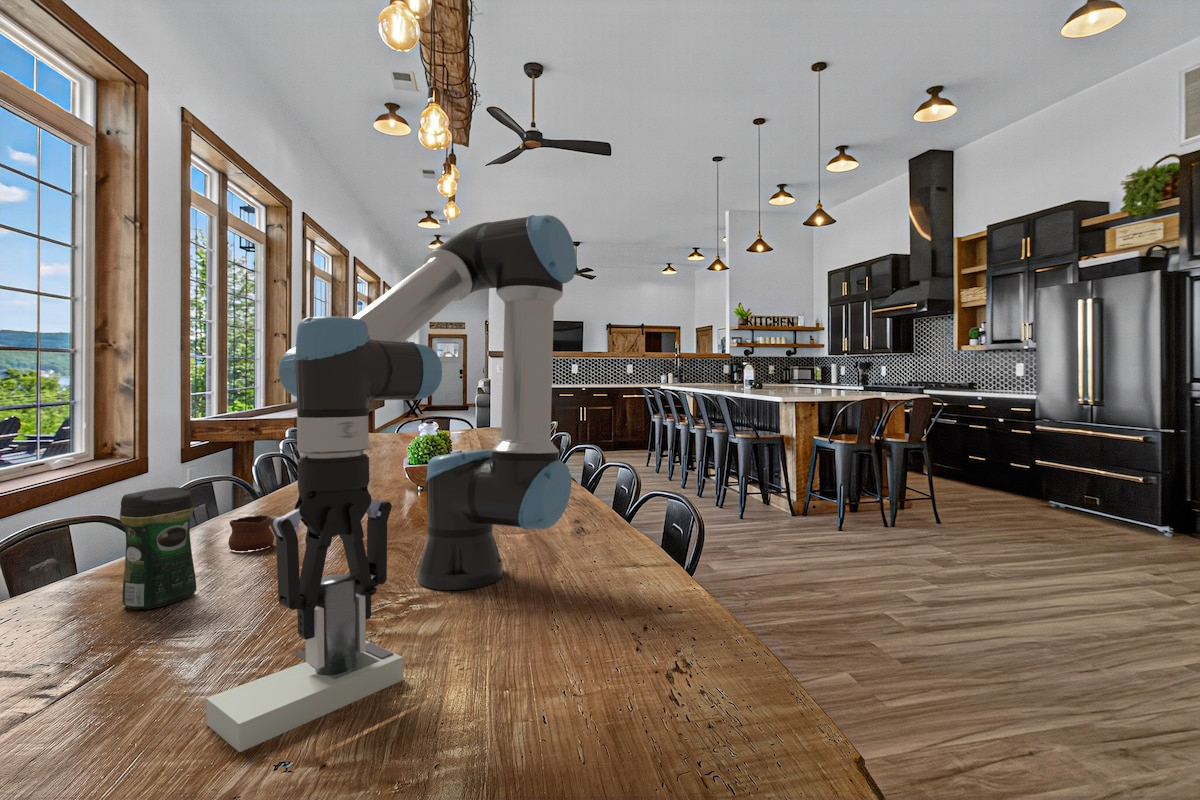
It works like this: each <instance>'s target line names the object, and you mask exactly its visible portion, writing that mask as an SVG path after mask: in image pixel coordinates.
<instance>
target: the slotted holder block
mask: <svg viewBox="0 0 1200 800" xmlns="http://www.w3.org/2000/svg"><path fill="white" fill-rule="evenodd" d="M402 681H404V657H403V656H402V655H399V654H397V653H395V652H393V651H391V650H388V649H387V648H383V647H381V646H379V645H377V644H375V643H373V642H371V641H368V640H366V651H365V652H362V653H358V652H357V664H356V666H355V667H354V668H353V669H351V670H349V671H347V672H345V673H341V674H337V675H320V674H317V673H316V672H315V667H313V666H312V665H310V664H308V663H306V661H304V662H300V663H299V664H295V665H293V666H290V667H288V668H285V669H282V670H279V671H277V672H274V673H271V674H268V675H265V676H263V677H260V678H258V679H257V678H256V679H254V680H252V681H248V682H246V683H243V684H241V685H238V686H235V687H232V688H230V689H226V690H224V691H222V692H219V693H216V694H213V695H211V696H207V697H205V713H206V714H205V716H206V717H205V718H206V719H205V720H206V723H205V724H206V725H207V727H209V728H210V729H212V731H213V732H215V733H216V734H217V735H218V736H219V737H221V738H222V739H223V740H224V741H226V743H227V744H229V745H230V746H231V747H232V748H233V749H235V751H237V752H238V753H242V752H244V751H246V750H248V749H250V748H252V747H253V748H254V747H255V746H257V745H259V744H262V743H263V742H266V741H268V740H271V739H274V738H275V737H278V736H280V735H282V734H284V733H286V732H289V731H291V730H293V729H296V728H298V727H300V726H302V725H304V724H307V723H309V722H311V721H314V720H316V719H318V718H320V717H323V716H325V715H328V714H329V713H332V712H335V711H336V710H339V709H341V708H343V707H346V706H348V705H350V704H352V703H355V702H357V701H359V700H361V699H364V698H365V697H366V698H367V697H368V696H370V695H372V694H375V693H377V692H379V691H381V690H384V689H386V688H388V687H390V686H393V685H395V684H397V683H399V682H402Z"/></svg>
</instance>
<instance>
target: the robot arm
mask: <svg viewBox="0 0 1200 800" xmlns="http://www.w3.org/2000/svg"><path fill="white" fill-rule="evenodd" d="M577 264H578V263H577V254H576V248H575V244H574V242H573V239H572V236H571V234H570V232H569V230H568V228H567V227H566V225H565V224H564V223H563V221H562V220H560V219H559V218H558V217H556V216H554V215H550V214H546V215H534V214H532V215H531V214H530V215H529V216H526V217H518V218H511V219H503V220H498V221H496V220H495V221H492V222H491V221H490V222H488V221H487V222H481V223H479V224H476V225H472V226H470V227H469V228H468V227H467V229H464V230H463V231H461V232H459V233H458V234H455V235H454V236H452V237H451V238H449V239H448V240H446V241H445V242H443V243H442V244H440V245H438V246H437V247H436V248H434V249H433V250H431V252H429V253H428V254H427V255H426V256H425V258H424V260H423V264H422V266H420V267H419V268H417V269H416V270H415V271H413V272H412V273H411V274H410V275H407V276H406V278H404V279H403V280H401V281H399V282H398V283H397V284H396V285H394V286H393V287H392V288H390V289H389V290H388V291H386V292H385V293H383V294H382V295H381V296H380V297H378V298H376V299H375V300H374V301H373V302H371V303H370V304H368V305H367V306H366V307H364V308H363V309H362V310H360V311H359V312H358V313H356V314H355V315H354V316H352V317H347V316H346V317H345V316H331V315H330V316H328V315H327V316H326V315H325V316H322V315H321V316H308V317H306V318H303V319H301V320H300V321H299V322H298V325H297V329H296V335H295V336H296V338H295V339H296V340H295V346H294V347H292V348H289V349H288V350H287V351H286V352H285V353H284V354H283V355H282V356H281V359H280V361H279V365H278V377H279V381H280V383H281V385H282V387H283V388H284V390H285V391H286V392H287V393H289V394H290V395H291V396H292V397H295V398H296V410H297V411H296V413H297V415H296V441H297V442H296V450H297V451H298V452H299V453H301V454H302V456H300V457H299V458H298V460H296V461H297V463H296V464H297V490H298V498H297V500H296V503H295V505H294V509H293V510H292V511H289V512H287V513H286V514H284V515H282V516H273V517H271V520H270V526H269V527H271V531H272V533H273V535H274V538H275V539H276V540H275V541H276V543H275V544H276V569H277V570H276V571H277V572H276V573H277V593H278V594H277V597H278V603H279V605H282V606H283V607H285V608H287V609H290V610H292V611H293V610H297V634H298V636H299V638H301V639H303V640H305V647H304V648H305V650H306V661H305V662H306V663H308V664H310V665H312V666H313V667H315V668H317V669H319V668H322V667H324V608H322V607H319V606H316V605H317V600H318V595H319V590H320V585H321V580H322V577H323V573H324V569H325V563H326V558H327V552H328V550H329V548H330V547H331V545H332V541H333V540H332V539H333V538H334V537H336V536H339V538H340V540H341V541H342V544H343V545H342V546H343V550H344V553H345V558H346V563H347V566H348V570H349V574H350V575H354V576H355V577H356V637H357V652H358V653H362V652H365V651H366V641H367V637H366V636H367V635H366V634H367V632H366V621H368V620H370V619H371V616H372V596H373V595H375V594H376V593H377V591H378V587H377V586H379V585H385V583H386V581H388V580H387V579H388V576H387V575H388V521H389V518H390V514H391V511H392V509H393V508H392V507H393V505H392V503H391V502H389V501H384V500H380V499H373V498H372V496H371V494H370V492H369V489H368V487H369V484H370V457H369V456H368V454H366V453H364V451H366V450H368V449H369V448H370V447H369V445H370V444H369V441H370V440H369V433H370V432H369V415H370V401H410V402H411V401H415V400H421V399H422V400H423V399H427V398H429V397H430V396H432V395H433V394H435V392H436V391H437V390H438V389H439V387H440V385H441V383H442V378H443V365H442V361H441V359H440V357H439V355H438V354H437V353H436V351H435V350H434V349H433V348H432V347H430V346H428V345H424V344H421V343H415V342H414V341H409V342H407V340H408V339H409V338H411V337H412V335H414V334H415V333H416V332H417V331H419V330H420V329H421V328H422V327H423V326H425V325H426V324H427V323H428V322H430V320H432V319H433V318H434V317H435V316H437V315H438V313H440V312H441V311H443V310H444V308H445V307H447V306H448V305H449V304H451V303H452V302H453V301H454V302H457V301H462V300H464V299H466V297H468V296H469V295H470V294H473V293H475V292H477V291H481V290H488V289H496V290H495V292H496V293H495V294H496V295H497V296H498V297H499V298H500V299H501V300H502V301H503V303H504V312H503V313H504V315H503V316H504V317H503V318H504V319H503V321H504V322H503V324H504V325H503V352H502V353H503V355H502V357H503V358H502V385H501V387H502V389H501V390H502V394H501V422H500V423H501V426H500V427H501V429H500V433H501V434H500V438H501V439H500V440H499V442H498V443H496V444H495V445H494V447H493V448H492V449H476V450H467V451H461V452H455V453H447V454H440V455H436V456H432V457H431V459H429V460H428V462H427V471H426V474H427V475H426V479H425V482H426V512H427V539H426V542H425V546H424V549H423V553H422V555H421V556H422V557H421V560H420V563H419V565H418V569H417V579H418V580H417V582H418V583H419V584H420V585H421V586H423V587H425V588H428V589H432V590H433V589H434V590H441V591H459V590H470V589H476V588H481V587H484V586H485V587H486V586H489V585H491V584H493V583H496V582H497V581H499V580H501V578H502V577H503V573H504V571H503V560H502V558H501V557H500V556H501V555H500V552H499V550H498V546H497V543H496V540H495V536H494V533H493V526H494V525H495V526H504V527H505V526H506V527H511V528H512V527H513V528H521V529H523V530H525V531H526V530H546V529H549V528H551V527H553V526H555V525H556V524H558V522H559V521H560V519H561V518H562V517H563V515H564V513H565V512H566V509H567V506H568V504H569V501H570V497H571V492H572V476H571V475H572V474H571V473H570V468H569V466H568V465H567V464H566V463H565V462H563V461H560V460H559V459H560V457H559V456H560V455H559V454H560V450H559V449H558V448H557V446H556V445H555V444H554V443H553V442H552V439H551V435H552V433H551V432H552V430H551V429H552V394H553V393H552V389H553V350H554V345H553V344H554V315H555V314H554V311H555V304H556V303H557V302H558V301H559V300H560V299H562V298H563V295H564V293H563V288H564V284H567V283H569V282H571V281H572V280H573V279H574V277H575V275H576V271H577ZM365 515H367V521H366V522H367V523H366V548H365V543H364V540H363V538H364V537H365V534H364V530H363V525H362V519H363V518H364V516H365ZM300 521H301V522H302V524H303V525H304V526H305V527H306V528H307V529H306V534H305V538H304V541H305V545H306V546H305V551H304V554H303V561H302V566H301V571H300V556H299V555H300V553H299V550H300V549H299V539H298V538H299V537H298V534H297V532H298V531H300Z"/></svg>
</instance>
